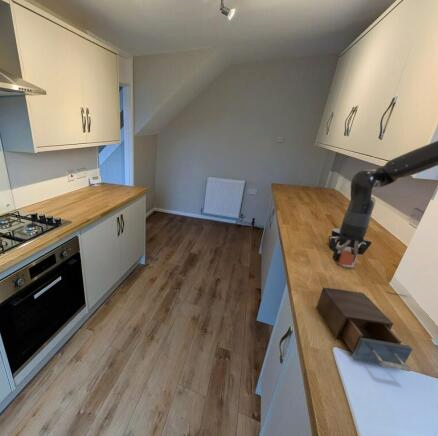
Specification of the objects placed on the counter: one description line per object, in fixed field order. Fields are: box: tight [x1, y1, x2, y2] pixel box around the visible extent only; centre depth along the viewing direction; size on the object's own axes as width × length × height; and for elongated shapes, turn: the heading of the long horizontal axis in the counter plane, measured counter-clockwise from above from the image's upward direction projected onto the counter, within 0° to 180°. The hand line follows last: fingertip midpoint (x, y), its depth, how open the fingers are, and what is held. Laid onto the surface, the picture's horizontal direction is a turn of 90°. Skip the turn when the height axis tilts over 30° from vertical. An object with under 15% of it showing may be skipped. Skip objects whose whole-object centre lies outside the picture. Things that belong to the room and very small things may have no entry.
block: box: [336, 250, 355, 265], centre depth 96 cm, size 4×4×4 cm
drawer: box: [341, 319, 413, 372], centre depth 69 cm, size 18×11×7 cm, turn 167°
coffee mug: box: [330, 227, 341, 246], centre depth 133 cm, size 12×9×10 cm
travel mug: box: [336, 235, 366, 270], centre depth 114 cm, size 6×7×20 cm
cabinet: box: [316, 286, 394, 341], centre depth 79 cm, size 15×13×9 cm
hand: (342, 261), depth 96 cm, fingers closed on block, 4 cm apart
